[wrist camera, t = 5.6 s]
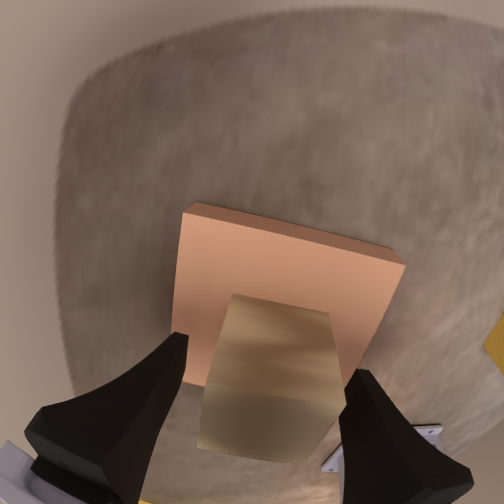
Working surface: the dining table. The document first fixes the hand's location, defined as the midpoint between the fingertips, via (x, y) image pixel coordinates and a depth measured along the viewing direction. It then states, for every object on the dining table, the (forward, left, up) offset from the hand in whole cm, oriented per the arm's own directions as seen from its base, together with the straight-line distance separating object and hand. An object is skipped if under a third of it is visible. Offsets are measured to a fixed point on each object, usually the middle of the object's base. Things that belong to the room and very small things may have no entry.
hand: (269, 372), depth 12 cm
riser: (0, 0, -5) cm, 5 cm away
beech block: (0, 0, -3) cm, 3 cm away
